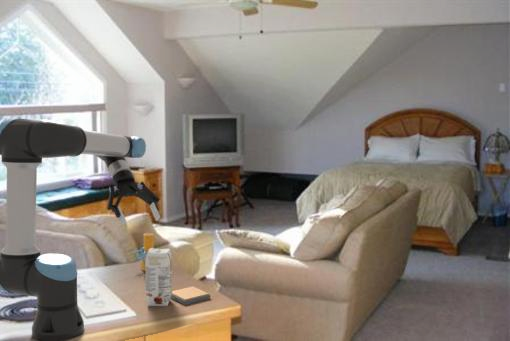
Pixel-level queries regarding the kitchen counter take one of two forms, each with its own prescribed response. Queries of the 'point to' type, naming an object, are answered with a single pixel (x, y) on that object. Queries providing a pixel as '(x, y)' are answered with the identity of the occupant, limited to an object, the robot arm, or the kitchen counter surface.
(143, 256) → the yellow and blue piece
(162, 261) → the juice carton
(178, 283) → the kitchen counter surface
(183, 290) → the board
